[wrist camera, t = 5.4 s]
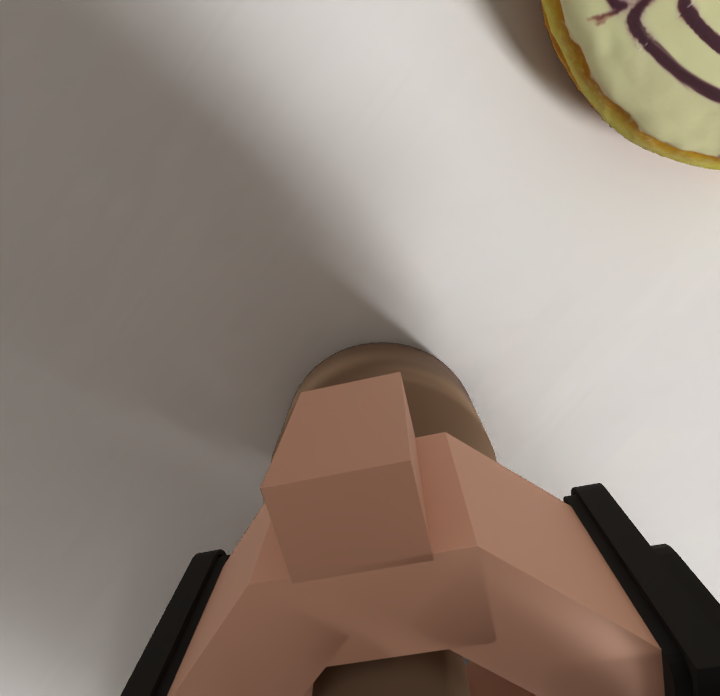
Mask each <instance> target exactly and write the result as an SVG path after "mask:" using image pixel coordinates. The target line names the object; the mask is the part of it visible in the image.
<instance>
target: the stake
mask: <svg viewBox="0 0 720 696" xmlns="http://www.w3.org/2000/svg"><path fill="white" fill-rule="evenodd" d="M396 372H401V377H402V381H403V385H404V390H405V394H406V399H407V403H408V407H409V412H410V416H411V421H412V425H413V429H414V434H415V438H417V437H422V436H427V435H432V434H437V433H443V432H446V433H448V434H450V435H451V436H453V437H455V438H456V439H458V440H460V441H462V442H463V443H465V444H467V445H468V446H470V447H472V448H473V449H475V450H477V451H478V452H480V453H482V454H483V455H485V456H487V457H489V458H490V459H492V460H494V461H495V462H497V461H496V457H495V453H494V450H493V448H492V445H491V443H490V441H489V438H488V436H487V434H486V432H485V430H484V428H483V425H482V423H481V421H480V419H479V417H478V415H477V413H476V410H475V408H474V406H473V404H472V402H471V400H470V398H469V395H468V393H467V391H466V390H465V388H464V386H463V385H462V383H461V381H460V380H459V379H458V378H457V376H456V375H455V374H454V373H453V372H452V371H451V370H450V369H449V368H448V367H447V366H446V365H445V364H443V363H442V362H441V361H439V360H438V359H436V358H435V357H433V356H431V355H429V354H428V353H426V352H424V351H421V350H419V349H416V348H413V347H410V346H406V345H401V344H395V343H369V344H362V345H358V346H354V347H351V348H347V349H345V350H342V351H340V352H338V353H336V354H334V355H332V356H330V357H329V358H327V359H325V360H324V361H323V362H322V363H320V364H319V365H318V366H316V367H315V368H314V369H313V370H312V371H311V372H310V373H309V374H308V376H307V377H306V378H305V380H304V381H303V382H302V384H301V385H300V387H299V389H298V391H297V392H296V394H295V396H294V399H293V402H292V404H291V407H290V410H289V412H288V415H287V418H286V420H285V423H284V425H283V428H282V431H281V433H280V436H279V439H278V441H277V444H276V447H275V450H274V452H273V455H272V460H273V457H274V455H275V453H276V450H277V448H278V446H279V443H280V441H281V438H282V436H283V434H284V431H285V429H286V427H287V424H288V422H289V420H290V417H291V415H292V413H293V410H294V408H295V406H296V403H297V401H298V398H299V396H300V394H301V392H306V391H310V390H315V389H320V388H325V387H330V386H334V385H339V384H344V383H349V382H353V381H358V380H363V379H368V378H373V377H377V376H382V375H387V374H392V373H396ZM272 460H271V462H272ZM312 696H470V691H469V685H468V680H467V675H466V670H465V665H464V660H463V656H461V655H459V654H457V653H455V652H453V651H452V650H450V649H446V650H439V651H432V652H426V653H419V654H412V655H405V656H398V657H391V658H384V659H377V660H370V661H364V662H357V663H350V664H343V665H336V666H329V667H326V668H325V669H324V670H323V671H322V673H321V674H320V675H319V676H318V678H317V679H316V680H315V681H314V683H313V691H312Z"/></svg>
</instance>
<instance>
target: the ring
mask: <svg viewBox="0 0 720 696" xmlns="http://www.w3.org/2000/svg"><path fill="white" fill-rule="evenodd" d="M260 489H261V492H262V495H263V498H264V501H265V503H264V505H263V506H262V508H261V509H260V511H259V512H258V514H257V515H256V517H255V518H254V520H253V522H252V523H251V525H250V526H249V528H248V529H247V531H246V532H245V534H244V535H243V537H242V538H241V540H240V542H239V543H238V545H237V546H236V548H235V549H234V551H233V552H232V554H231V555H230V557H229V558H228V560H227V562H226V563H225V565H224V566H223V568H222V571H221V573H220V575H219V578H218V580H217V582H216V584H215V587H214V589H213V591H212V594H211V596H210V598H209V601H208V603H207V605H206V607H205V610H204V612H203V614H202V617H201V619H200V621H199V623H198V626H197V628H196V630H195V633H194V635H193V637H192V640H191V642H190V644H189V646H188V649H187V651H186V653H185V656H184V658H183V660H182V663H181V665H180V667H179V669H178V672H177V674H176V676H175V679H174V681H173V683H172V686H171V688H170V690H169V692H168V695H167V696H312V691H313V683H314V681H315V680H316V679H317V678H318V676H319V675H320V674H321V673H322V671H323V670H324V669H325V668H326V667H329V666H336V665H343V664H350V663H357V662H364V661H370V660H377V659H384V658H391V657H398V656H405V655H412V654H419V653H426V652H432V651H439V650H446V649H450V650H452V651H453V652H455V653H457V654H459V655H461V656H463V657H465V658H467V659H469V660H470V661H469V662H468V663H467V664H466V666H465V670H466V675H467V680H468V685H469V691H470V696H665V690H664V677H663V665H662V652H661V650H662V649H661V648H660V647H659V645H658V643H657V642H656V640H655V639H654V637H653V636H652V634H651V632H650V631H649V629H648V628H647V626H646V624H645V623H644V621H643V620H642V618H641V616H640V615H639V613H638V612H637V610H636V608H635V607H634V605H633V604H632V602H631V601H630V599H629V597H628V596H627V594H626V593H625V591H624V589H623V588H622V586H621V585H620V583H619V581H618V580H617V578H616V577H615V575H614V573H613V572H612V570H611V569H610V567H609V565H608V564H607V562H606V561H605V559H604V558H603V556H602V554H601V553H600V551H599V550H598V548H597V546H596V545H595V543H594V542H593V540H592V538H591V537H590V535H589V534H588V532H587V530H586V529H585V527H584V526H583V524H582V522H581V521H580V519H579V518H578V516H577V515H576V513H575V511H574V510H573V508H572V507H571V506H570V505H568V504H566V503H565V502H563V501H561V500H560V499H558V498H556V497H554V496H553V495H551V494H549V493H548V492H546V491H544V490H543V489H541V488H539V487H538V486H536V485H534V484H533V483H531V482H529V481H527V480H526V479H524V478H522V477H521V476H519V475H517V474H516V473H514V472H512V471H511V470H509V469H507V468H505V467H504V466H502V465H500V464H499V463H497V462H495V461H494V460H492V459H490V458H489V457H487V456H485V455H483V454H482V453H480V452H478V451H477V450H475V449H473V448H472V447H470V446H468V445H467V444H465V443H463V442H462V441H460V440H458V439H456V438H455V437H453V436H451V435H450V434H448V433H446V432H443V433H437V434H432V435H427V436H422V437H417V438H415V434H414V429H413V425H412V421H411V416H410V412H409V407H408V403H407V399H406V394H405V390H404V385H403V381H402V377H401V372H396V373H392V374H387V375H382V376H377V377H373V378H368V379H363V380H358V381H353V382H349V383H344V384H339V385H334V386H330V387H325V388H320V389H315V390H310V391H306V392H301V394H300V396H299V398H298V401H297V403H296V406H295V408H294V410H293V413H292V415H291V417H290V420H289V422H288V424H287V427H286V429H285V431H284V434H283V436H282V438H281V441H280V443H279V446H278V448H277V450H276V453H275V455H274V457H273V460H272V462H271V464H270V467H269V469H268V471H267V474H266V476H265V479H264V481H263V483H262V486H261V488H260Z"/></svg>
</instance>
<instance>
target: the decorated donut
mask: <svg viewBox="0 0 720 696" xmlns="http://www.w3.org/2000/svg"><path fill="white" fill-rule="evenodd" d="M540 1H541V4H542V9H543V15H544V22H545V27H546V28H547V29H548V33H549V36H550V39H551V41H552V43H553V48H554V49H555V51H556V53H557V56H558V58H559V59H560V61H561V63H562V64H563V65H564V67H565V68H566V70H567V73H568V74H569V75H570V78H571V79H572V80H573V81H574V83H575V85H576V86H577V87H578V88H577V90H580V91H581V92H582V93H583V95H584V96H585V97H586V98H587V100H588V101H589V103H590V104H591V105H592V107H593V108H595V109H596V111H597V112H598V113H599V114H600V115H601V116H602V118H603V120H604V121H606V122H607V123H608V124H609V125H610V127H613V128H614V129H615V130H616V131H617V132H618V133H619V134H621V135H623V136H624V137H625V138H626V139H628V140H629V141H631V142H632V143H634V144H636V145H638V146H640V147H642V148H644V149H646V150H649V151H651V152H653V153H657V154H658V155H660V156H663V157H667V158H670V159H673V160H675V161H678V162H682V163H686V164H689V165H693V166H698V167H703V168H707V169H717V170H720V0H540Z"/></svg>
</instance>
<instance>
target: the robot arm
mask: <svg viewBox="0 0 720 696" xmlns="http://www.w3.org/2000/svg"><path fill="white" fill-rule="evenodd" d="M563 500H564V502H565V503H566V504H568V505H570V506H571V507H572V508H573V510H574V511H575V513H576V515H577V516H578V518H579V519H580V521H581V522H582V524H583V526H584V527H585V529H586V530H587V532H588V534H589V535H590V537H591V538H592V540H593V542H594V543H595V545H596V546H597V548H598V550H599V551H600V553H601V554H602V556H603V558H604V559H605V561H606V562H607V564H608V565H609V567H610V569H611V570H612V572H613V573H614V575H615V577H616V578H617V580H618V581H619V583H620V585H621V586H622V588H623V589H624V591H625V593H626V594H627V596H628V597H629V599H630V601H631V602H632V604H633V605H634V607H635V608H636V610H637V612H638V613H639V615H640V616H641V618H642V620H643V621H644V623H645V624H646V626H647V628H648V629H649V631H650V632H651V634H652V636H653V637H654V639H655V640H656V642H657V643H658V645H659V647H660V648H661V649H662V650H661V652H662V665H663V677H664V690H665V696H720V604H719V603H718V601H717V600H716V599H715V598H714V597H713V596H712V594H711V593H710V592H709V591H708V590H707V588H706V587H705V586H704V585H703V584H702V582H701V581H700V580H699V579H698V578H697V576H696V575H695V574H694V573H693V572H692V570H691V569H690V568H689V567H688V566H687V565H686V563H685V562H684V561H683V560H682V559H681V557H680V556H679V555H678V554H677V553H676V552H675V551H674V550H673V549H672V548H671V547H670V546H669V545H667V544H660V545H654V546H650V545H649V543H648V542H647V541H646V540H645V538H644V537H643V536H642V534H641V533H640V532H639V531H638V529H637V528H636V527H635V525H634V524H633V523H632V522H631V520H630V519H629V518H628V516H627V515H626V514H625V513H624V511H623V510H622V509H621V507H620V506H619V505H618V504H617V502H616V501H615V500H614V498H613V497H612V496H611V495H610V493H609V492H608V491H607V489H606V488H605V487H604V486H603V485H602V484H601V483H597V484H591V485H585V486H579V487H574V488H572V490H571V496H565V497H564V499H563ZM229 557H230V555H226V553H225V552H224V551H223V550H214V551H209V552H203V553H198V554H196V555H195V556H194V557H193V559H192V560H191V562H190V564H189V566H188V568H187V570H186V572H185V574H184V576H183V578H182V580H181V581H180V583H179V585H178V587H177V589H176V591H175V593H174V595H173V597H172V599H171V600H170V602H169V604H168V606H167V608H166V610H165V612H164V614H163V616H162V618H161V620H160V621H159V623H158V625H157V627H156V629H155V631H154V633H153V635H152V637H151V639H150V641H149V642H148V644H147V646H146V648H145V650H144V652H143V654H142V656H141V658H140V660H139V662H138V663H137V665H136V667H135V669H134V671H133V673H132V675H131V677H130V679H129V681H128V682H127V684H126V686H125V688H124V690H123V692H122V694H121V696H167V695H168V692H169V690H170V688H171V686H172V683H173V681H174V679H175V676H176V674H177V672H178V669H179V667H180V665H181V663H182V660H183V658H184V656H185V653H186V651H187V649H188V646H189V644H190V642H191V640H192V637H193V635H194V633H195V630H196V628H197V626H198V623H199V621H200V619H201V617H202V614H203V612H204V610H205V607H206V605H207V603H208V601H209V598H210V596H211V594H212V591H213V589H214V587H215V584H216V582H217V580H218V578H219V575H220V573H221V571H222V568H223V566H224V565H225V563H226V562H227V560H228V558H229Z"/></svg>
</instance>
